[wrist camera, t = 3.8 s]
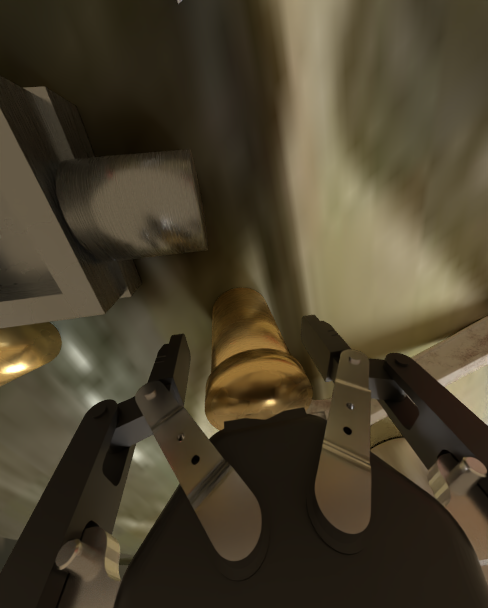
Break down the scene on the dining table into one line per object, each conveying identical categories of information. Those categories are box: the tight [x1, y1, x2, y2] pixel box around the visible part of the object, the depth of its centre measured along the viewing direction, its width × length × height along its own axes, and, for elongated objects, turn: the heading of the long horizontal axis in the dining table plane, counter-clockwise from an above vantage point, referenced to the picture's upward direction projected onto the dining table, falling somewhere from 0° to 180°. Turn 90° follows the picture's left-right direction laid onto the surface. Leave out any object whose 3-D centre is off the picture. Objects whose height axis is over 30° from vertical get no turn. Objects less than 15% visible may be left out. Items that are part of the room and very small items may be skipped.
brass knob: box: [205, 288, 313, 430], centre depth 12 cm, size 5×5×8 cm
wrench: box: [306, 316, 488, 425], centre depth 19 cm, size 8×2×30 cm
